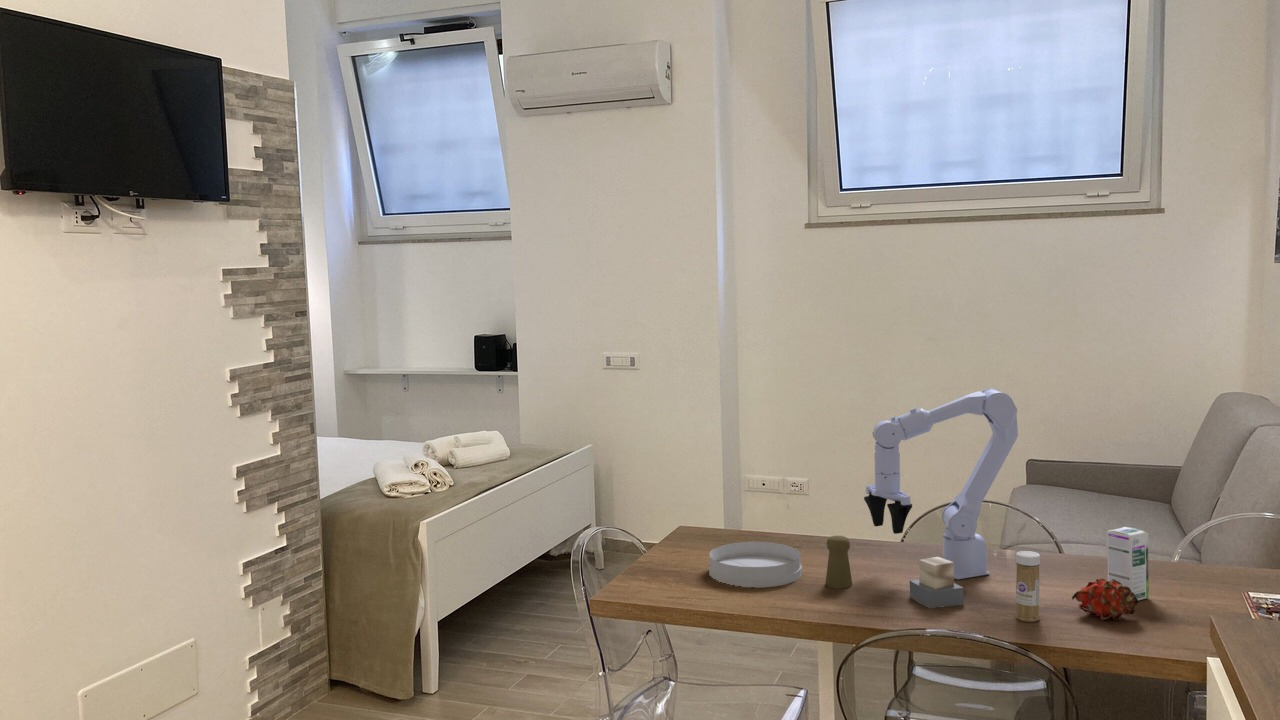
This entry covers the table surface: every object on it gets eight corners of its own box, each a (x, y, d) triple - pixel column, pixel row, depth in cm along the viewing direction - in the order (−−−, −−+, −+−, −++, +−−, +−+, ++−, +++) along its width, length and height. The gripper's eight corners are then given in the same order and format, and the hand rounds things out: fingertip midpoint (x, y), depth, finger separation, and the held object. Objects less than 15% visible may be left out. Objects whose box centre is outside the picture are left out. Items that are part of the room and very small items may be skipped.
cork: (852, 588, 213) (851, 540, 212) (825, 587, 214) (824, 539, 214) (852, 580, 219) (851, 533, 218) (825, 579, 220) (824, 532, 219)
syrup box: (1131, 603, 198) (1132, 535, 197) (1106, 595, 203) (1106, 529, 202) (1149, 598, 200) (1149, 531, 199) (1123, 591, 206) (1124, 525, 205)
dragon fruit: (1143, 631, 186) (1077, 631, 192) (1141, 596, 192) (1076, 596, 198) (1136, 604, 182) (1068, 605, 188) (1134, 569, 188) (1068, 570, 194)
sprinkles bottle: (1012, 619, 191) (1012, 554, 190) (1020, 613, 194) (1020, 548, 193) (1036, 624, 188) (1036, 557, 187) (1043, 617, 191) (1043, 552, 190)
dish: (821, 575, 224) (821, 555, 224) (750, 595, 212) (750, 573, 211) (758, 555, 242) (758, 536, 242) (690, 572, 230) (689, 552, 230)
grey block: (942, 594, 208) (942, 576, 208) (963, 606, 200) (963, 587, 200) (909, 598, 206) (909, 580, 206) (929, 610, 199) (929, 591, 198)
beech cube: (937, 579, 206) (937, 556, 206) (953, 585, 202) (953, 562, 201) (919, 582, 204) (919, 559, 204) (935, 588, 200) (935, 565, 199)
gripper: (855, 468, 228) (855, 524, 229) (891, 479, 214) (892, 538, 215) (879, 466, 230) (880, 521, 231) (917, 476, 217) (918, 534, 218)
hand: (888, 529), depth 223 cm, fingers open, 7 cm apart
